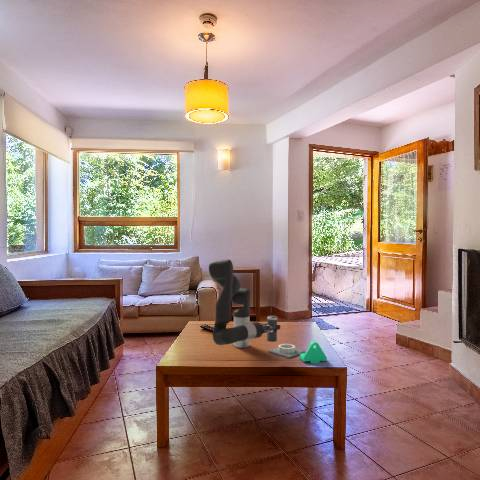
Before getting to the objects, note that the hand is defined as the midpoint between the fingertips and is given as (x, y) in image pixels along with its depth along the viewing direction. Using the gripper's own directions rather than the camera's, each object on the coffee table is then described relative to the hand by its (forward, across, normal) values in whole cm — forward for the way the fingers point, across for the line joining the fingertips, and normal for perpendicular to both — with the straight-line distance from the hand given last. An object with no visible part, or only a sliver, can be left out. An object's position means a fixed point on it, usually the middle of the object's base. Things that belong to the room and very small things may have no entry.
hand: (275, 325), depth 193 cm
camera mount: (+15, -12, +18) cm, 27 cm away
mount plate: (+14, +5, +18) cm, 23 cm away
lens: (-3, 0, +7) cm, 7 cm away
